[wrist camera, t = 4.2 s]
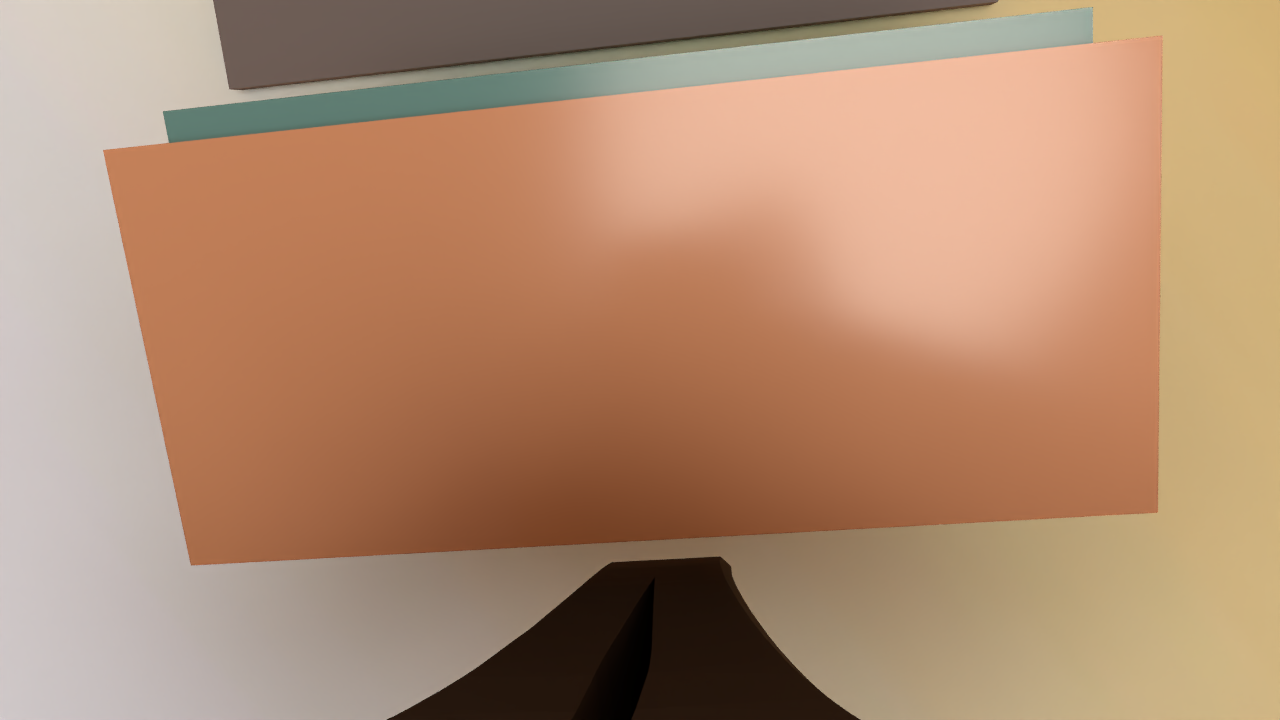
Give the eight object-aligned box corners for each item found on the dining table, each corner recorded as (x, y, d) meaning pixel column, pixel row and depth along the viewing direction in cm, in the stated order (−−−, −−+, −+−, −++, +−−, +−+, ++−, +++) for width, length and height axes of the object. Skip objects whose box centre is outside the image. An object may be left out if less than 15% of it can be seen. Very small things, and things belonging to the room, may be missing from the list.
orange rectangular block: (966, 329, 17) (1156, 512, 9) (433, 370, 18) (191, 565, 10) (957, 57, 16) (1163, -4, 8) (395, 117, 17) (96, 116, 9)
